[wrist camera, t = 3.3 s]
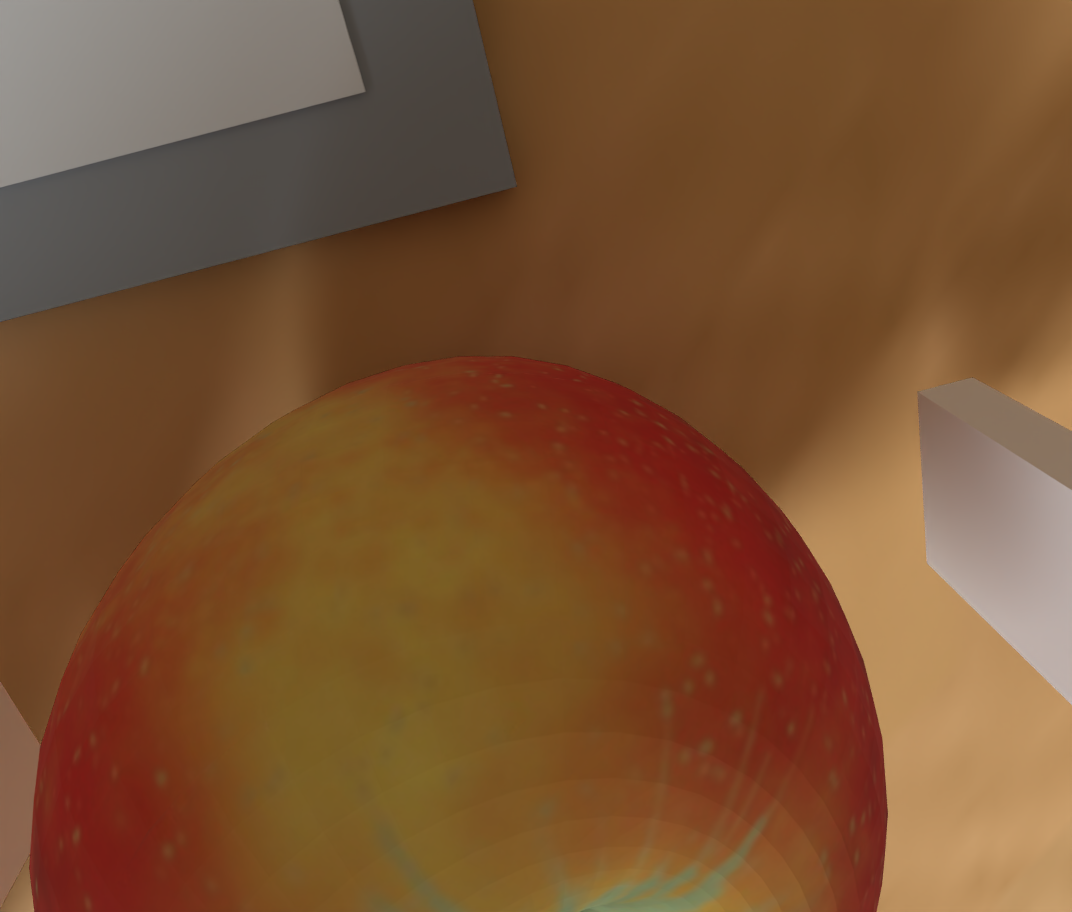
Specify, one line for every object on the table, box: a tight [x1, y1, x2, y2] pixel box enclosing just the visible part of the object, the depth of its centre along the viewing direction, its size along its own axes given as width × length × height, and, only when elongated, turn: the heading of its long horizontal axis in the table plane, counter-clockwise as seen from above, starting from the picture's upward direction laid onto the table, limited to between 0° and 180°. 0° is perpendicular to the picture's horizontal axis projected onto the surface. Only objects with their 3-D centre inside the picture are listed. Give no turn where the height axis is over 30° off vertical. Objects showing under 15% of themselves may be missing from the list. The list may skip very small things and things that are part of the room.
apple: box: [29, 356, 888, 912], centre depth 9 cm, size 8×8×10 cm
